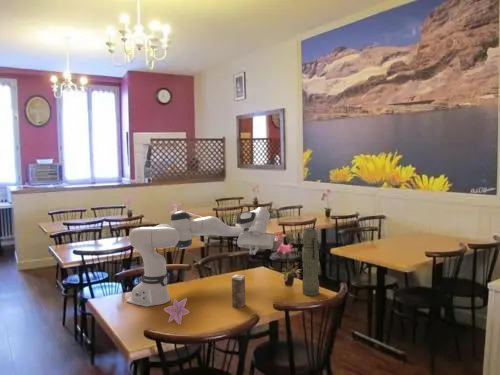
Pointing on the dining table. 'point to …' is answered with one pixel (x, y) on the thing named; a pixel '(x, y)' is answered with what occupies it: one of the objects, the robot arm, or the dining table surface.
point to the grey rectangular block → (238, 291)
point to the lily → (177, 310)
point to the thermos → (310, 263)
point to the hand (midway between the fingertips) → (252, 254)
